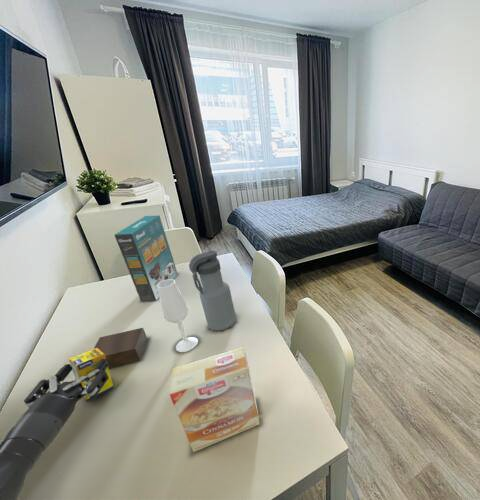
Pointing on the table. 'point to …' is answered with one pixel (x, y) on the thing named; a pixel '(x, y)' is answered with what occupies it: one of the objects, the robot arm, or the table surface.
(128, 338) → the block
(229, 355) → the coffeecake box
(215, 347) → the table surface
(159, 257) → the cake mix box
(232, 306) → the water bottle
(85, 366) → the supplement box
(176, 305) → the champagne flute
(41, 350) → the table surface
